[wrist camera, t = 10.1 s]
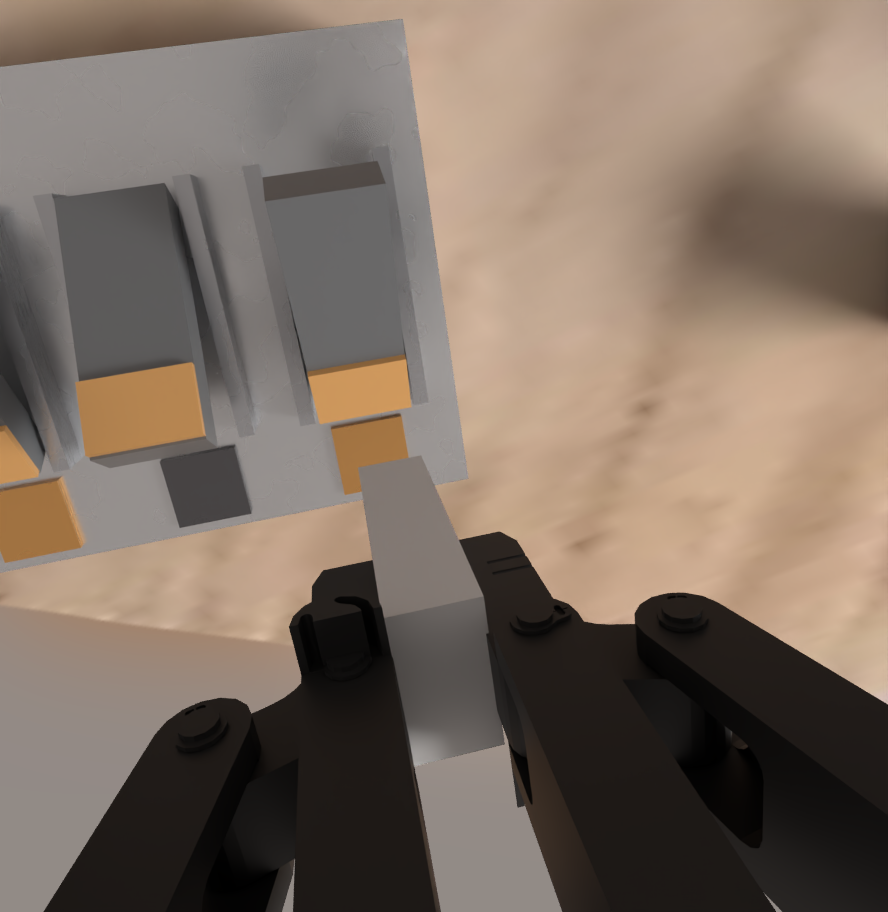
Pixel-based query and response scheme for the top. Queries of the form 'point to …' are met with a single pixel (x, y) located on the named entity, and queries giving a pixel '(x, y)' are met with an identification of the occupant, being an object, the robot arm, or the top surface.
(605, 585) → the top surface
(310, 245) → the switch
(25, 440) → the switch
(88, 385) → the switch
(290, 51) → the switch unit
